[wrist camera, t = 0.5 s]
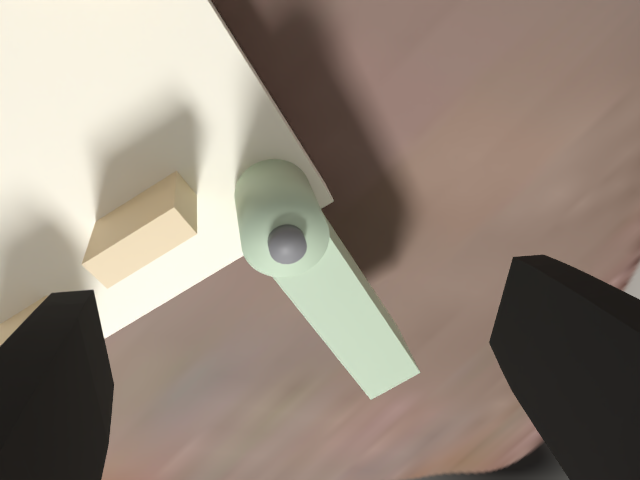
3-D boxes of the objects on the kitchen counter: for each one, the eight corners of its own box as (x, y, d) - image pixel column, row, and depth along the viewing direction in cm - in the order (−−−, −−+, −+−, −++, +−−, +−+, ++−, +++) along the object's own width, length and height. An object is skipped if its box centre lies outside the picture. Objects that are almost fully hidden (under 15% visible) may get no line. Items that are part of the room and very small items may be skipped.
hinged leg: (218, 185, 16) (223, 239, 13) (285, 144, 16) (304, 190, 13) (348, 353, 21) (371, 418, 18) (402, 323, 20) (433, 384, 18)
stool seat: (53, 346, 20) (15, 460, 16) (-300, 71, 13) (-523, 139, 9) (324, 182, 19) (362, 258, 14) (79, -209, 12) (19, -277, 8)
